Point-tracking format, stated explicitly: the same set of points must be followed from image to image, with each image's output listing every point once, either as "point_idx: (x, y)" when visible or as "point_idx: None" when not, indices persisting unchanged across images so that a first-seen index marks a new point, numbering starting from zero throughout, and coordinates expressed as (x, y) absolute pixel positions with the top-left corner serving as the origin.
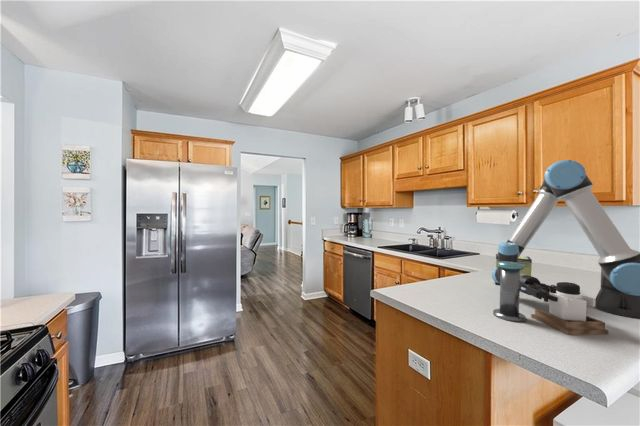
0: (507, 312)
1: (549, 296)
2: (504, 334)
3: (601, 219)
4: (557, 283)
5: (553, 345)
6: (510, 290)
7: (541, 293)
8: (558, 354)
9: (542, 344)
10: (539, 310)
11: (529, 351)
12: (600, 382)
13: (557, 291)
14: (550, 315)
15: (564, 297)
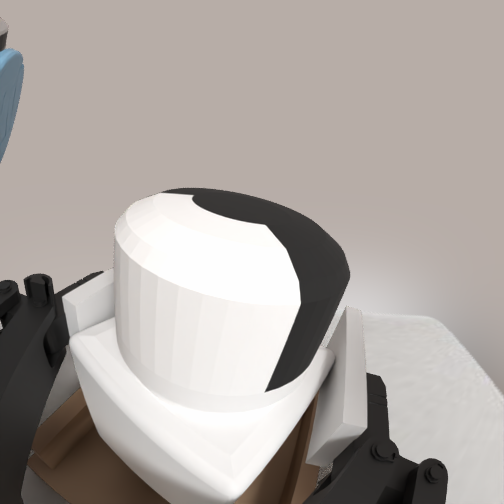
0: None
1: (382, 421)
2: (497, 446)
3: None
4: (331, 286)
5: (425, 389)
6: None
7: (423, 464)
8: (439, 365)
9: (446, 397)
10: None
11: (479, 383)
12: (428, 318)
13: (304, 371)
14: (317, 473)
15: (354, 324)
